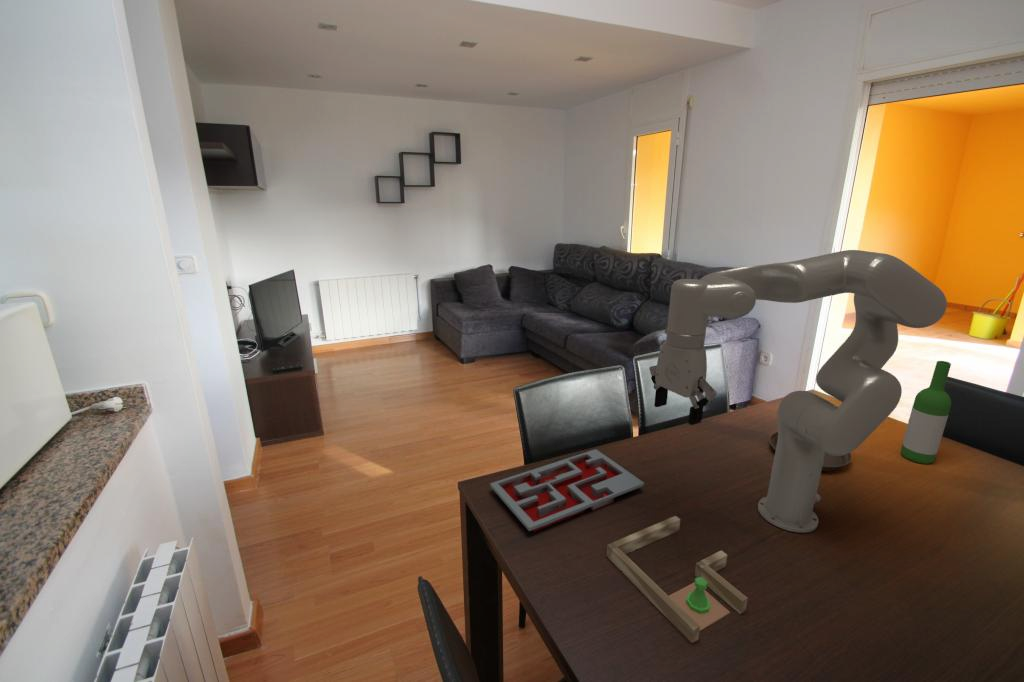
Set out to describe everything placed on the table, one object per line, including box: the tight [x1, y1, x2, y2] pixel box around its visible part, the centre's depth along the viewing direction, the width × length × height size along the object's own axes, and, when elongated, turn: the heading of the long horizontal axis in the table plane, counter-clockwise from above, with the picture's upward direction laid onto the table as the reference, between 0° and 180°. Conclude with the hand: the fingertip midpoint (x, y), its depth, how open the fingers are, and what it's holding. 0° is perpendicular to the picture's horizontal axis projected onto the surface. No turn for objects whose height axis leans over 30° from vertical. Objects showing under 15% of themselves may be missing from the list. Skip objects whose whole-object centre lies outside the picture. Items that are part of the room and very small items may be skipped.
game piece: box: [686, 577, 710, 614], centre depth 86 cm, size 4×4×6 cm
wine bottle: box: [900, 360, 952, 465], centre depth 131 cm, size 8×8×30 cm
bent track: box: [606, 515, 749, 644], centre depth 93 cm, size 20×23×3 cm
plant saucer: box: [768, 431, 853, 472], centre depth 137 cm, size 21×21×3 cm
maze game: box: [489, 449, 645, 533], centre depth 120 cm, size 35×20×3 cm, turn 119°
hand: (676, 414), depth 101 cm, fingers open, 9 cm apart
